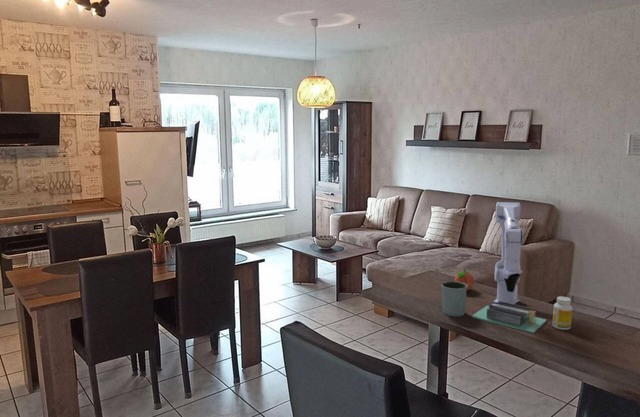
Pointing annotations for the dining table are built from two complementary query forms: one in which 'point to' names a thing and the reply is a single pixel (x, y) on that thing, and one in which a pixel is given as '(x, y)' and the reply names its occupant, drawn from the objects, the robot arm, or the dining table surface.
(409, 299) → the dining table surface
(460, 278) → the fruit
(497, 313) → the heat sink
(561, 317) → the supplement bottle
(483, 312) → the circuit board
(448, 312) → the green cup
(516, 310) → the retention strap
